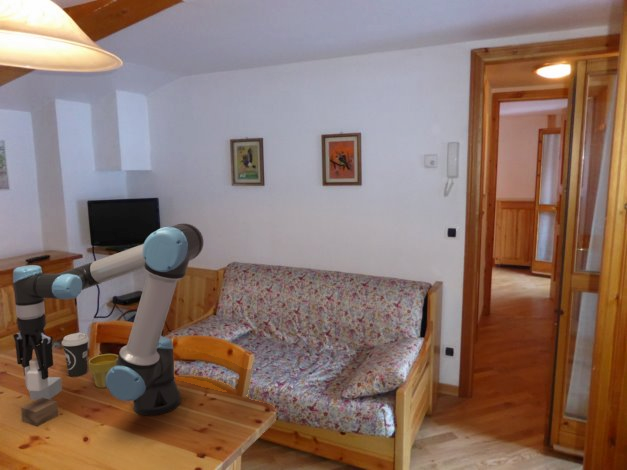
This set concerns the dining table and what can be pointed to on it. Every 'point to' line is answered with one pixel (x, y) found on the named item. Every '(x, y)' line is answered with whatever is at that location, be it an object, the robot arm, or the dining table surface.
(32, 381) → the pepper shaker
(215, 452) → the dining table surface
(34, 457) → the dining table surface
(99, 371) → the plant pot
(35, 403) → the walnut block
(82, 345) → the coffee cup
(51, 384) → the grey-blue block
